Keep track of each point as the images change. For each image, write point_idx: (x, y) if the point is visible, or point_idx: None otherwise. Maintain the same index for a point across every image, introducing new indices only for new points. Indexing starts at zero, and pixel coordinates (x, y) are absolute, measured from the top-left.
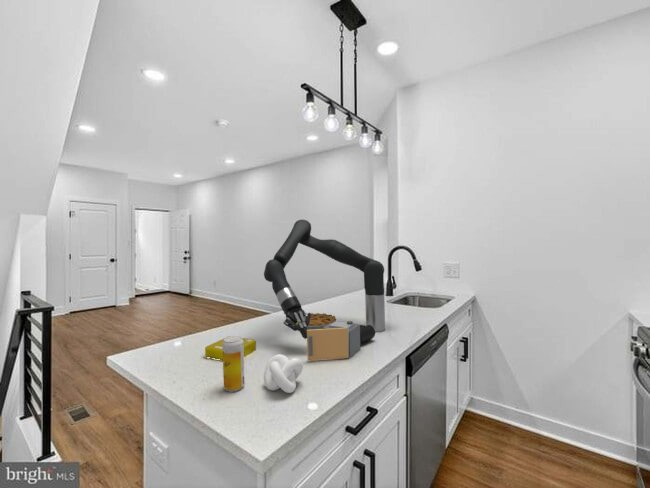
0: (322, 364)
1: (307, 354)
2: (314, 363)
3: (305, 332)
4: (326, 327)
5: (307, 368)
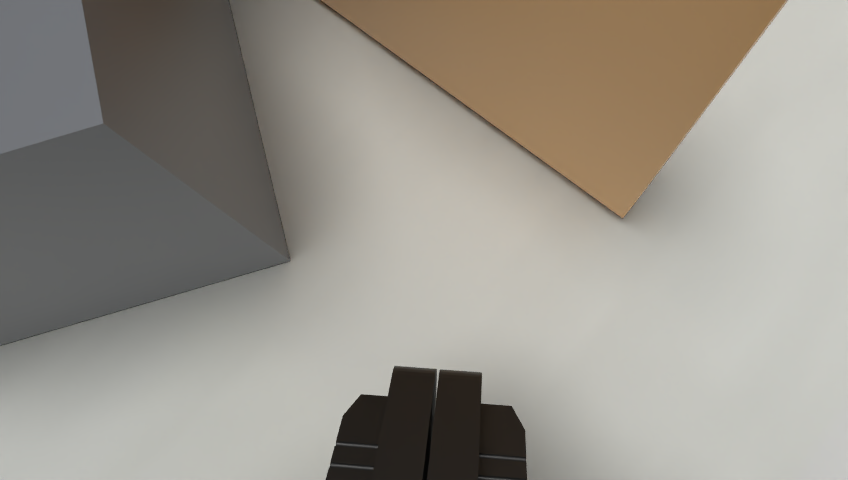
0: None
1: (637, 198)
2: None
3: (470, 437)
4: (30, 67)
5: (767, 58)
